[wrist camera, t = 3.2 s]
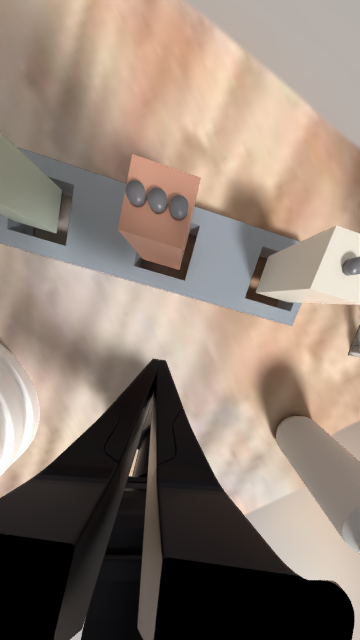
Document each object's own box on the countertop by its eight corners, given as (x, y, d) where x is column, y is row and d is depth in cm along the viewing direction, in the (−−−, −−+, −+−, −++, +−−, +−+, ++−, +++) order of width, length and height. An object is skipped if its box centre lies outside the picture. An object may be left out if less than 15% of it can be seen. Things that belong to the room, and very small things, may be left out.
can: (269, 417, 24) (363, 538, 12) (310, 407, 23) (448, 518, 12) (275, 451, 25) (366, 591, 13) (315, 441, 25) (443, 573, 13)
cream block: (301, 266, 17) (402, 241, 9) (287, 302, 17) (371, 305, 10) (268, 256, 16) (345, 221, 9) (255, 292, 17) (317, 288, 10)
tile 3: (189, 231, 16) (202, 170, 8) (179, 270, 16) (182, 246, 9) (151, 219, 15) (129, 144, 8) (143, 259, 16) (114, 225, 9)
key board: (302, 256, 19) (323, 249, 17) (276, 322, 21) (292, 326, 18) (31, 168, 17) (3, 142, 14) (24, 250, 18) (-4, 242, 15)
